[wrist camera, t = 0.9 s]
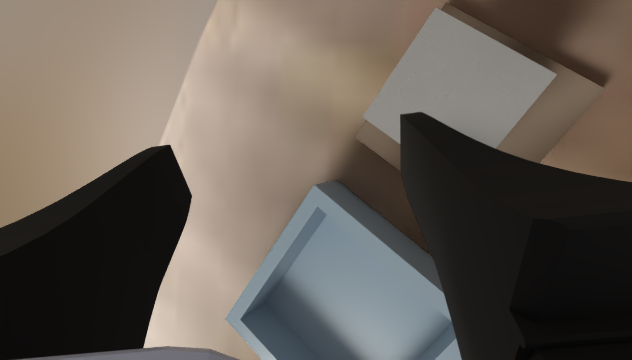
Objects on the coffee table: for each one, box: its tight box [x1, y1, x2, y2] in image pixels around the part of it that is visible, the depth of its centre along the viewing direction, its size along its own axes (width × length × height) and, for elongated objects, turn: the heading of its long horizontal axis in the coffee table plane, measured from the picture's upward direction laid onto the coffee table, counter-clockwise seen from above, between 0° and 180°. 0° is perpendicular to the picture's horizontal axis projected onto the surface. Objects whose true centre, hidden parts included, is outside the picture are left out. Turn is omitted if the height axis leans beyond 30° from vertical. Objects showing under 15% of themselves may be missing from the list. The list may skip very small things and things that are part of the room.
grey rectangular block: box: [363, 8, 557, 149], centre depth 18 cm, size 5×5×8 cm
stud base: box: [355, 3, 605, 171], centre depth 20 cm, size 10×10×5 cm
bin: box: [225, 180, 462, 360], centre depth 25 cm, size 13×13×4 cm
